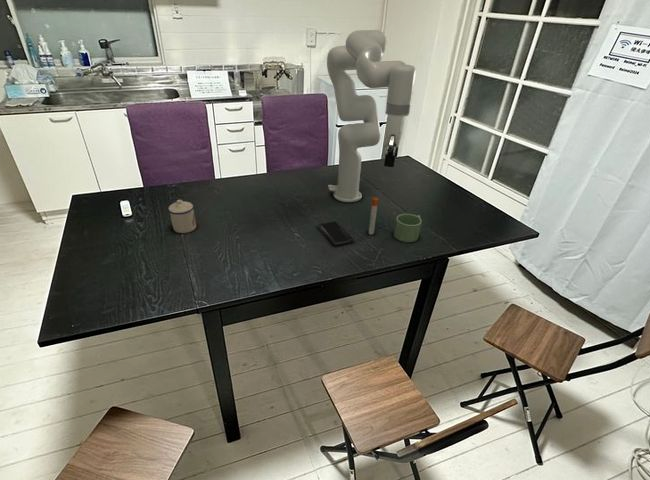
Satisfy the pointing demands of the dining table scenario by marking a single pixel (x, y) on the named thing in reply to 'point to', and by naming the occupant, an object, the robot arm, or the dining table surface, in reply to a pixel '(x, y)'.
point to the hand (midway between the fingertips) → (390, 161)
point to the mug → (407, 227)
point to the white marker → (373, 215)
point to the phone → (335, 233)
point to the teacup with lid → (182, 216)
